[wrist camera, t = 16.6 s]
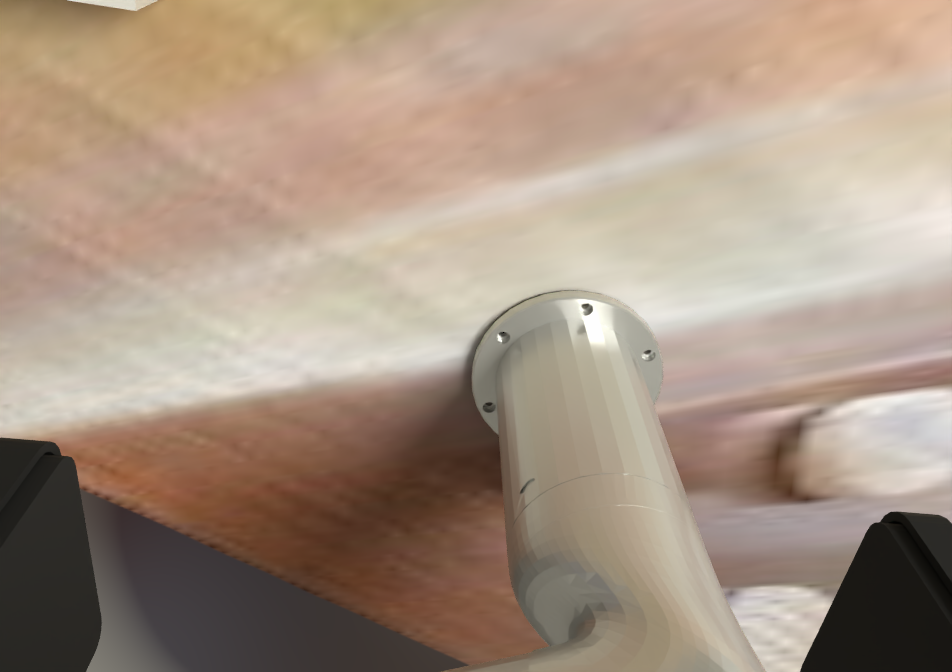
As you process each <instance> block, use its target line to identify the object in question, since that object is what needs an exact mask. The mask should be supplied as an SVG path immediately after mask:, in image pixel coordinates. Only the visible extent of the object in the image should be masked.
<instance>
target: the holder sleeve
mask: <svg viewBox="0 0 952 672" xmlns="http://www.w3.org/2000/svg"><path fill="white" fill-rule="evenodd" d="M69 1H75V2H82V3H88V4H95V5H101V6H108V7H114V8H120V9H127V10H133V11H137V10H139V9H141V8H143V7H145V6H147V5H149V4H151V3H153V2H156V1H158V0H69Z"/></svg>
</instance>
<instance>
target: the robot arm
mask: <svg viewBox="0 0 952 672" xmlns="http://www.w3.org/2000/svg"><path fill="white" fill-rule="evenodd" d="M586 303H588V304H587V305H584V306H583V304H586ZM500 332H505V333H500ZM646 350H647V351H646ZM471 379H472V393H473V397H474V400H475V404H476V407H477V409H478V411H479V412H480V414H481V416H482V418H483V420H484V421H485V422H486V423H487V424H488V426H489V427H490V428H491V429H492V430H493V431H494V432H495V433H496V434H498V435H499V445H500V459H501V473H502V487H503V501H504V515H505V529H506V543H507V555H508V567H509V575H510V580H511V585H512V588H513V591H514V594H515V597H516V600H517V602H518V604H519V606H520V608H521V610H522V611H523V613H524V615H525V617H526V618H527V620H528V621H529V623H530V624H531V625H532V627H533V628H534V629H535V630H536V631H537V633H538V634H539V635H540V636H541V637H542V638H543V640H544V641H545V642H546V643H547V644H548V645H549V647H546V648H542V649H537V650H533V651H532V652H531V653H526V654H522V655H517V656H512V657H508V658H503V659H498V660H494V661H489V662H484V663H480V664H475V665H470V666H466V667H461V668H457V669H452V670H447V671H442V672H766V671H765V669H764V667H763V666H762V664H761V662H760V661H759V659H758V657H757V655H756V654H755V652H754V650H753V649H752V647H751V645H750V643H749V642H748V640H747V638H746V636H745V634H744V633H743V631H742V629H741V627H740V625H739V623H738V621H737V619H736V617H735V616H734V614H733V612H732V610H731V608H730V606H729V604H728V602H727V600H726V597H725V595H724V593H723V590H722V588H721V586H720V584H719V581H718V579H717V577H716V574H715V572H714V569H713V566H712V564H711V561H710V559H709V556H708V554H707V551H706V548H705V546H704V543H703V540H702V537H701V535H700V532H699V529H698V526H697V524H696V521H695V518H694V516H693V513H692V510H691V507H690V504H689V501H688V499H687V496H686V493H685V490H684V487H683V485H682V482H681V479H680V476H679V474H678V471H677V468H676V465H675V462H674V460H673V457H672V454H671V451H670V449H669V446H668V443H667V440H666V438H665V435H664V432H663V429H662V426H661V424H660V421H659V418H658V415H657V413H656V410H655V407H654V404H655V402H656V400H657V398H658V395H659V393H660V390H661V385H662V380H663V360H662V356H661V352H660V348H659V345H658V343H657V341H656V339H655V336H654V334H653V332H652V331H651V329H650V328H649V326H648V325H647V324H646V322H645V321H644V320H643V319H642V318H641V317H640V316H639V315H638V314H637V313H636V312H635V311H634V310H633V309H631V308H629V307H628V306H626V305H624V304H623V303H621V302H620V301H618V300H615V299H613V298H610V297H607V296H604V295H602V294H597V293H591V292H585V291H560V292H554V293H548V294H543V295H541V296H538V297H535V298H532V299H529V300H526V301H524V302H523V303H521V304H519V305H517V306H515V307H514V308H512V309H510V310H509V311H507V312H506V313H505V314H504V315H502V316H501V317H500V318H499V319H498V320H496V321H495V323H494V324H493V325H492V326H491V327H490V328H489V330H488V331H487V332H486V333H485V335H484V336H483V338H482V340H481V342H480V344H479V345H478V347H477V350H476V353H475V356H474V360H473V363H472V377H471ZM100 633H101V613H100V607H99V602H98V595H97V589H96V583H95V577H94V571H93V566H92V560H91V554H90V549H89V542H88V536H87V531H86V524H85V518H84V513H83V506H82V500H81V494H80V488H79V482H78V476H77V470H76V465H75V462H74V460H73V459H72V457H68V456H61V453H60V449H59V447H58V446H57V445H56V444H55V443H53V442H47V441H35V440H23V439H11V438H0V672H86V670H87V668H88V666H89V664H90V662H91V660H92V658H93V656H94V653H95V651H96V648H97V646H98V642H99V639H100ZM800 672H952V523H951V522H950V521H949V520H947V519H946V518H945V517H942V516H940V515H932V514H920V513H907V512H890V513H888V514H887V515H885V516H884V517H883V519H882V520H881V522H879V523H874V524H872V525H871V526H870V527H869V529H868V530H867V532H866V534H865V536H864V538H863V540H862V543H861V545H860V547H859V549H858V551H857V553H856V555H855V557H854V559H853V561H852V563H851V565H850V567H849V569H848V572H847V574H846V576H845V578H844V580H843V582H842V584H841V586H840V588H839V590H838V592H837V594H836V596H835V598H834V600H833V603H832V605H831V607H830V609H829V611H828V613H827V615H826V617H825V619H824V621H823V623H822V625H821V627H820V629H819V632H818V634H817V636H816V638H815V640H814V642H813V644H812V646H811V648H810V650H809V652H808V654H807V656H806V658H805V661H804V663H803V665H802V668H801V671H800Z"/></svg>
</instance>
